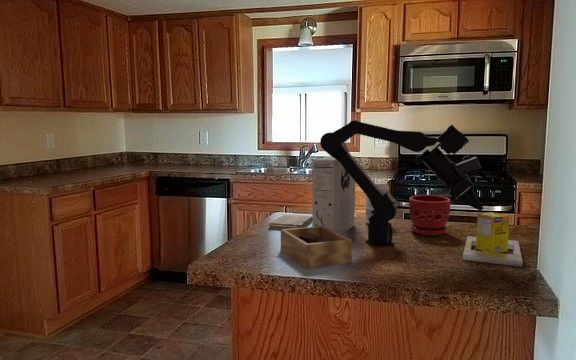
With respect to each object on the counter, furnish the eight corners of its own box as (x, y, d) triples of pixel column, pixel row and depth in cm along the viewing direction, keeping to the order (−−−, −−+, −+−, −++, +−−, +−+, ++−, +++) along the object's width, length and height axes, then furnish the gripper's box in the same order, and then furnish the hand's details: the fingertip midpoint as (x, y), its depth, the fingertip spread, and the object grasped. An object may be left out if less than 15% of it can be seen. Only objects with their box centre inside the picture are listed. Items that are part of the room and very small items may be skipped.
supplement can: (372, 220, 169) (372, 181, 168) (392, 223, 164) (393, 182, 162) (361, 223, 163) (362, 183, 161) (381, 226, 158) (382, 184, 156)
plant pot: (401, 229, 154) (402, 195, 153) (436, 227, 157) (437, 194, 155) (419, 238, 141) (420, 201, 140) (457, 236, 144) (458, 199, 143)
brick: (298, 251, 127) (298, 235, 127) (308, 248, 130) (308, 233, 129) (326, 259, 120) (326, 242, 119) (335, 256, 122) (336, 239, 122)
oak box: (305, 268, 111) (306, 244, 110) (280, 250, 128) (280, 229, 127) (351, 262, 116) (352, 240, 115) (321, 245, 132) (321, 226, 132)
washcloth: (266, 230, 154) (266, 221, 154) (283, 220, 171) (283, 212, 171) (299, 233, 151) (299, 224, 150) (313, 222, 168) (313, 214, 167)
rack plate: (522, 266, 112) (522, 260, 112) (462, 259, 118) (463, 254, 118) (517, 245, 132) (518, 240, 132) (467, 240, 138) (467, 235, 138)
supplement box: (507, 254, 124) (510, 215, 122) (491, 256, 122) (493, 217, 120) (491, 248, 129) (493, 211, 128) (475, 250, 127) (476, 213, 126)
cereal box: (334, 223, 163) (335, 155, 160) (354, 225, 160) (355, 156, 157) (311, 236, 144) (312, 159, 141) (333, 239, 141) (334, 160, 138)
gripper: (465, 148, 116) (509, 192, 114) (462, 145, 133) (500, 183, 131) (432, 176, 119) (474, 220, 117) (433, 170, 137) (469, 208, 135)
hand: (480, 206), depth 125 cm, fingers open, 9 cm apart
